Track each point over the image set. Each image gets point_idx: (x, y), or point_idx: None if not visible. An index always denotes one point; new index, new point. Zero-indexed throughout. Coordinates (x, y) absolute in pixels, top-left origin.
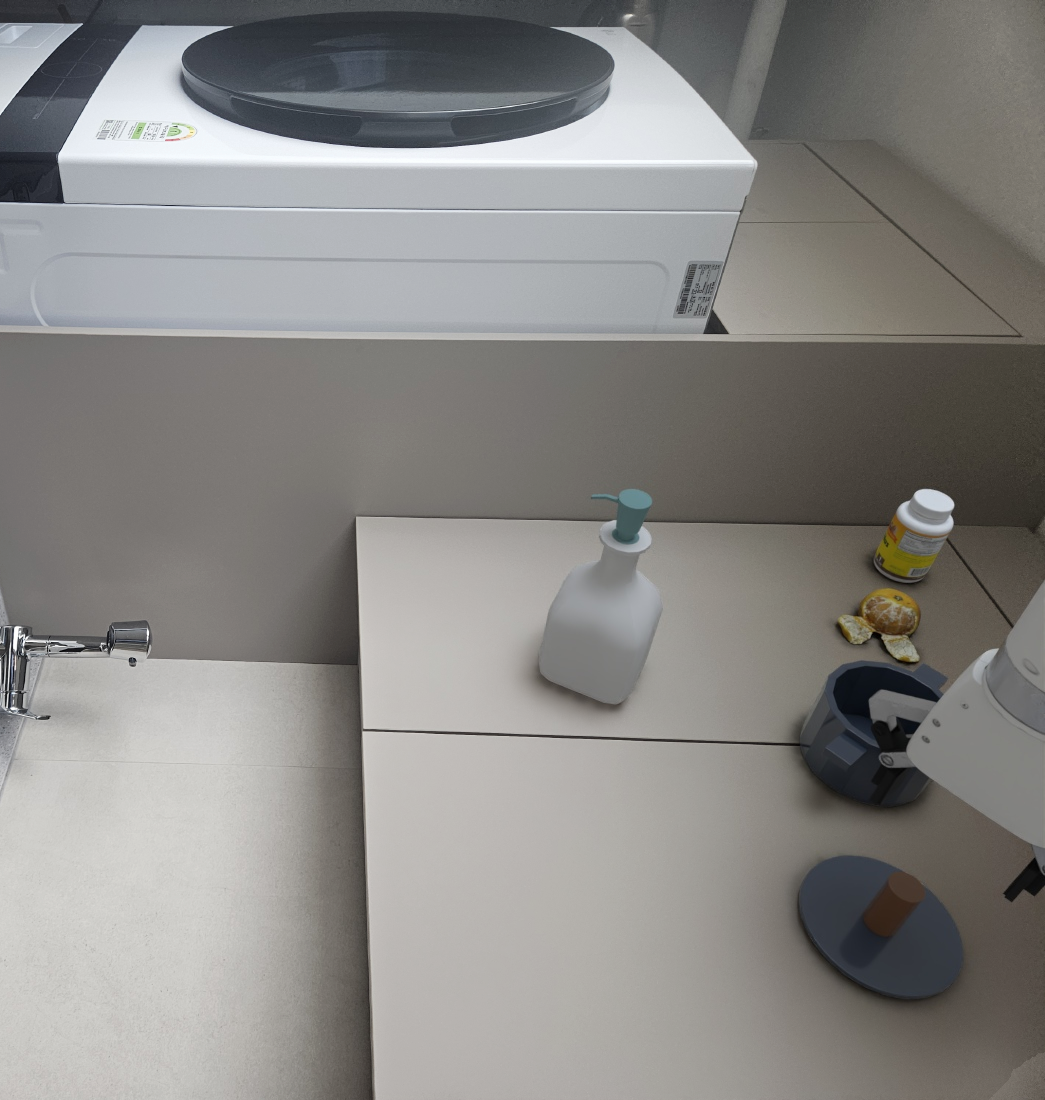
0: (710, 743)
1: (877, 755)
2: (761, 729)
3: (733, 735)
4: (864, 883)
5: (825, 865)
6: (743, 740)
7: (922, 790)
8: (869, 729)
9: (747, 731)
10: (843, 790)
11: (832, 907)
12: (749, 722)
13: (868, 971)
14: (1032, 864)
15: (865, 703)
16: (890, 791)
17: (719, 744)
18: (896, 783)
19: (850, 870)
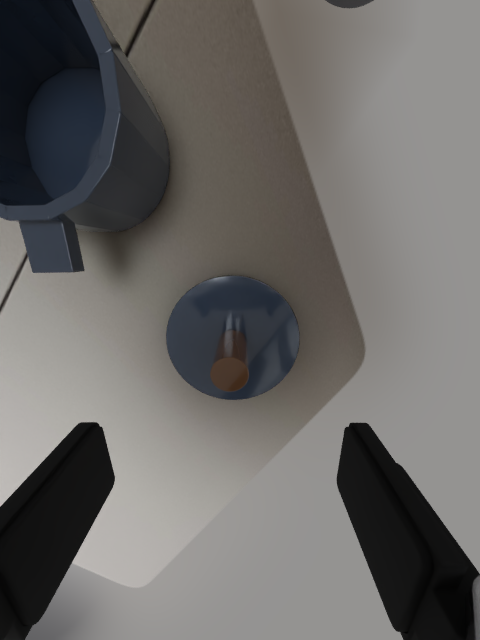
0: (13, 287)
1: (78, 214)
2: (17, 222)
3: (13, 257)
4: (202, 320)
5: (171, 332)
6: (23, 254)
7: (165, 147)
8: (66, 99)
9: (13, 239)
10: (120, 230)
11: (201, 362)
12: (3, 225)
13: (251, 387)
14: (407, 628)
15: (16, 64)
16: (91, 500)
17: (18, 281)
18: (73, 521)
19: (187, 318)
